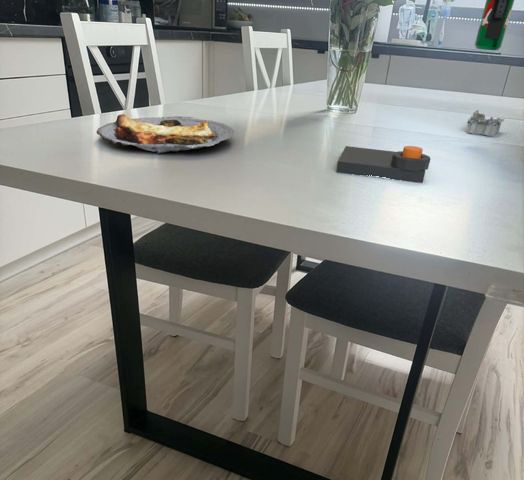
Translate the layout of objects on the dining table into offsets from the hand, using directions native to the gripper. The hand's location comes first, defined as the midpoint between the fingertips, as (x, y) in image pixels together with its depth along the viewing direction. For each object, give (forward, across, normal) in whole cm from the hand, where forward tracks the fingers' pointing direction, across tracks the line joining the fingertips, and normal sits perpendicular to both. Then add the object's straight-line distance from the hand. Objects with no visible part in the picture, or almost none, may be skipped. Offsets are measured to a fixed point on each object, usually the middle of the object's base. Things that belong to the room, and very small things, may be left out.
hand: (490, 38), depth 97 cm
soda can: (+2, 0, 0) cm, 2 cm away
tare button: (+16, -38, +11) cm, 43 cm away
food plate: (+19, -34, +56) cm, 68 cm away
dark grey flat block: (+20, -35, +16) cm, 43 cm away
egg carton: (+20, +14, -6) cm, 25 cm away
